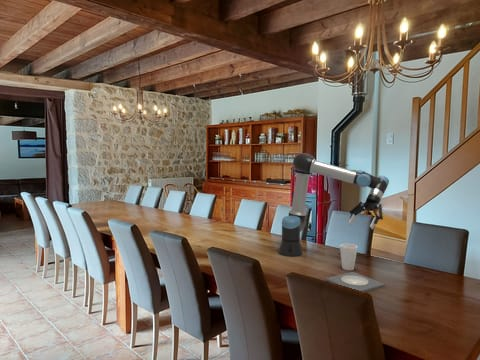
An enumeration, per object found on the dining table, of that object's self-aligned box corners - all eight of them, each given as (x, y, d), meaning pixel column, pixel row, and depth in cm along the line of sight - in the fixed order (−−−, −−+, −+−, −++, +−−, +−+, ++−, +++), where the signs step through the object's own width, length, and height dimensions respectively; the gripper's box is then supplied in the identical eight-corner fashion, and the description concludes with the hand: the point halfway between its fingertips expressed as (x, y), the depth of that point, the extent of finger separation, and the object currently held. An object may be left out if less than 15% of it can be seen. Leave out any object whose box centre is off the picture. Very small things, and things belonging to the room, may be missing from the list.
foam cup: (345, 271, 191) (345, 248, 190) (336, 266, 200) (336, 244, 198) (360, 270, 193) (361, 247, 192) (350, 265, 202) (351, 243, 201)
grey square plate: (325, 280, 178) (325, 277, 178) (352, 273, 188) (352, 270, 188) (356, 294, 161) (356, 290, 161) (384, 286, 171) (384, 282, 171)
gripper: (396, 204, 202) (383, 233, 194) (357, 199, 221) (344, 226, 213) (392, 195, 198) (378, 225, 190) (353, 192, 217) (339, 218, 209)
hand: (360, 225), depth 201 cm, fingers open, 13 cm apart
